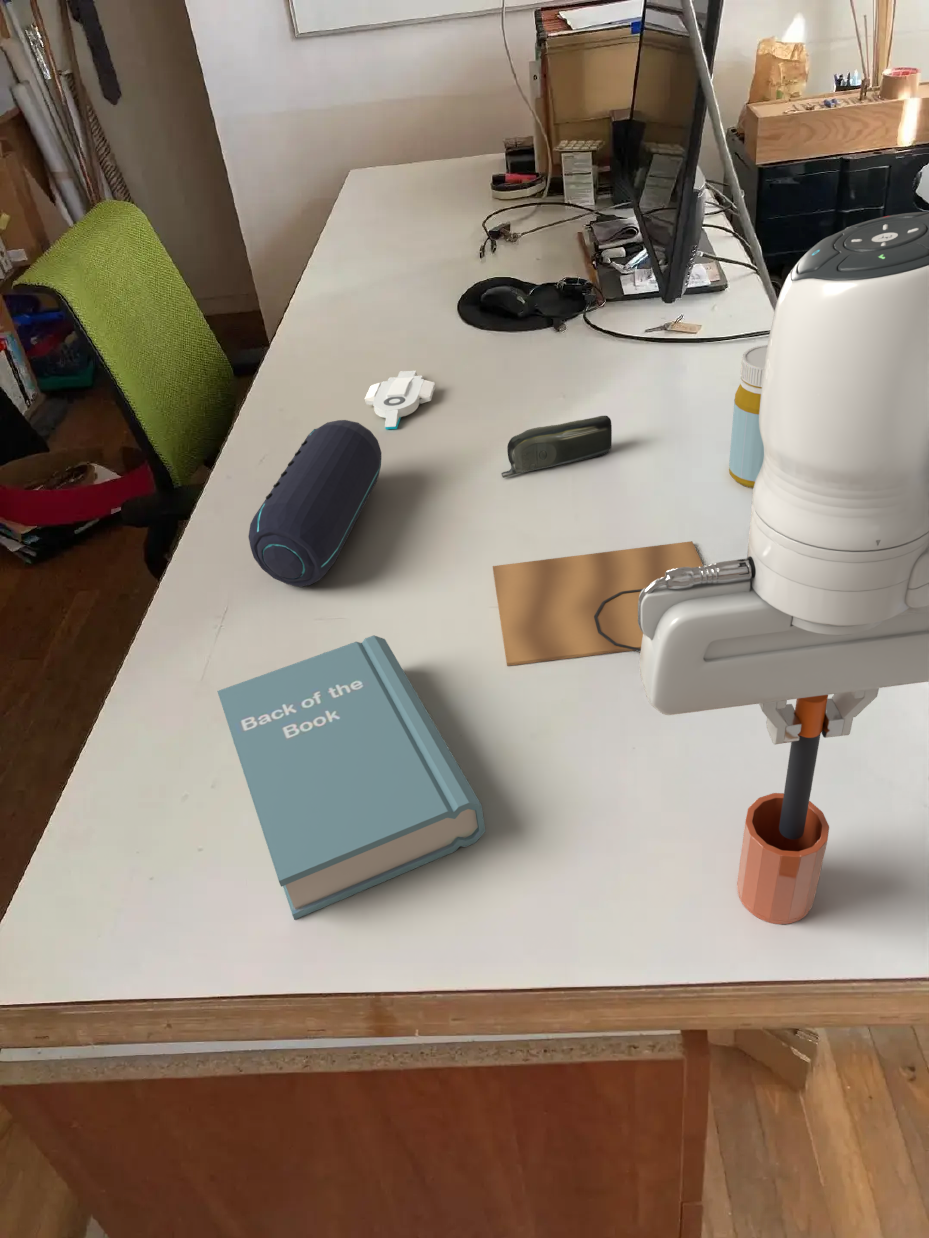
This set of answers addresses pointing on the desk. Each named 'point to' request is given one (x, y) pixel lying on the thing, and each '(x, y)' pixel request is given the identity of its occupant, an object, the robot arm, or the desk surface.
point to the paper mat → (580, 601)
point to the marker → (802, 766)
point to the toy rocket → (399, 396)
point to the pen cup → (780, 862)
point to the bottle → (748, 420)
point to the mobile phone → (559, 444)
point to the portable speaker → (315, 503)
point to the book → (347, 773)
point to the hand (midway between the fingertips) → (807, 732)
